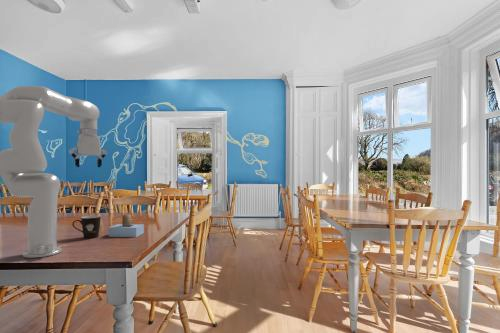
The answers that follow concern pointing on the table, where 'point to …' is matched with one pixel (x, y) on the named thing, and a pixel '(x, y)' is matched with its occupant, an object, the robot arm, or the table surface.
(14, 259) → the table surface
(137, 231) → the socket board
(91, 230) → the coffee mug
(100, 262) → the table surface
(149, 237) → the table surface
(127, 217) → the peg
